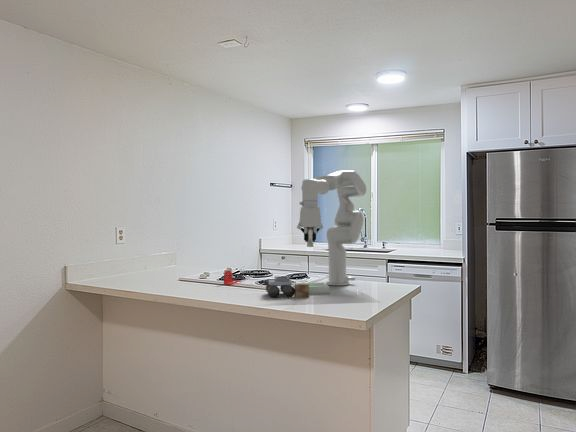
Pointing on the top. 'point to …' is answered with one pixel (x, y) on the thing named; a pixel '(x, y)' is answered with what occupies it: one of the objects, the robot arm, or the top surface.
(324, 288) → the tray
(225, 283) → the bracket
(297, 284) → the chock
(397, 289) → the top surface
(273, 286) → the trolley
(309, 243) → the pin
